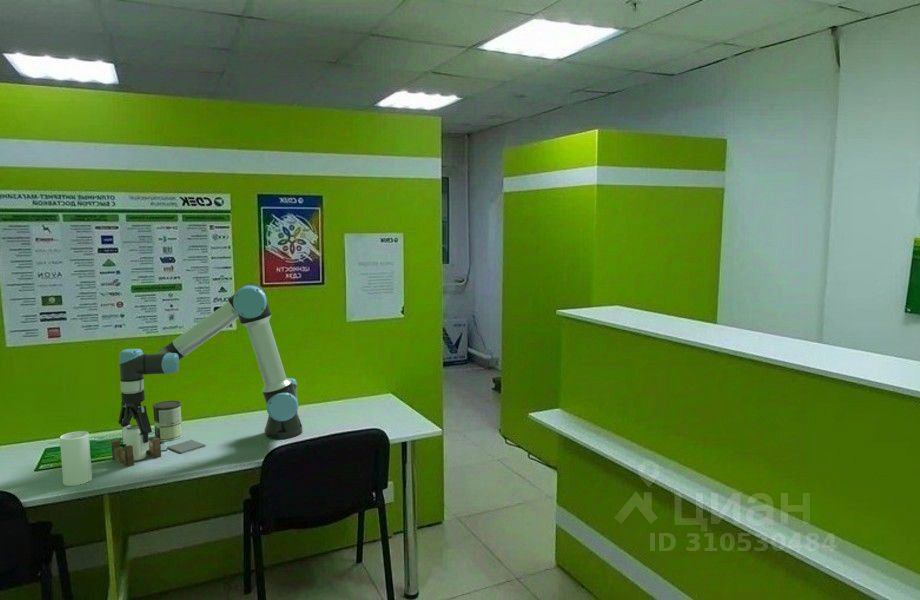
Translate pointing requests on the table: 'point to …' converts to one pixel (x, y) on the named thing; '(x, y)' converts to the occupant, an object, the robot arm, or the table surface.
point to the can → (135, 442)
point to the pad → (186, 446)
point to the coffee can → (167, 420)
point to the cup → (75, 458)
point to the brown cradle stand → (126, 454)
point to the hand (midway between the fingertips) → (135, 447)
